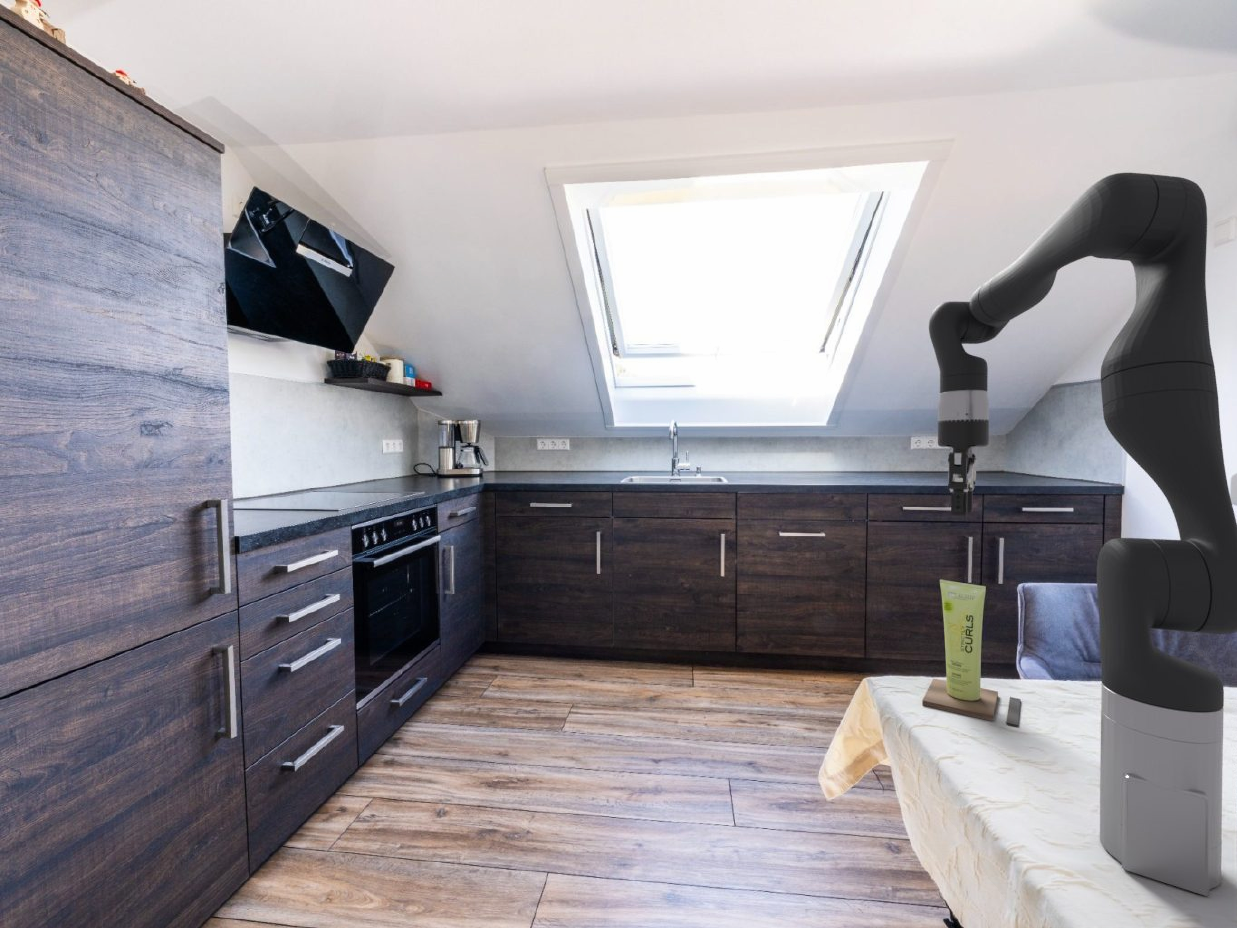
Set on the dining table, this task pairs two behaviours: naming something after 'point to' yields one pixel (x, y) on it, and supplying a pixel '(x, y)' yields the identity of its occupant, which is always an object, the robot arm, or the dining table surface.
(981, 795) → the dining table surface
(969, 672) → the tube
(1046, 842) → the dining table surface
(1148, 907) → the dining table surface
